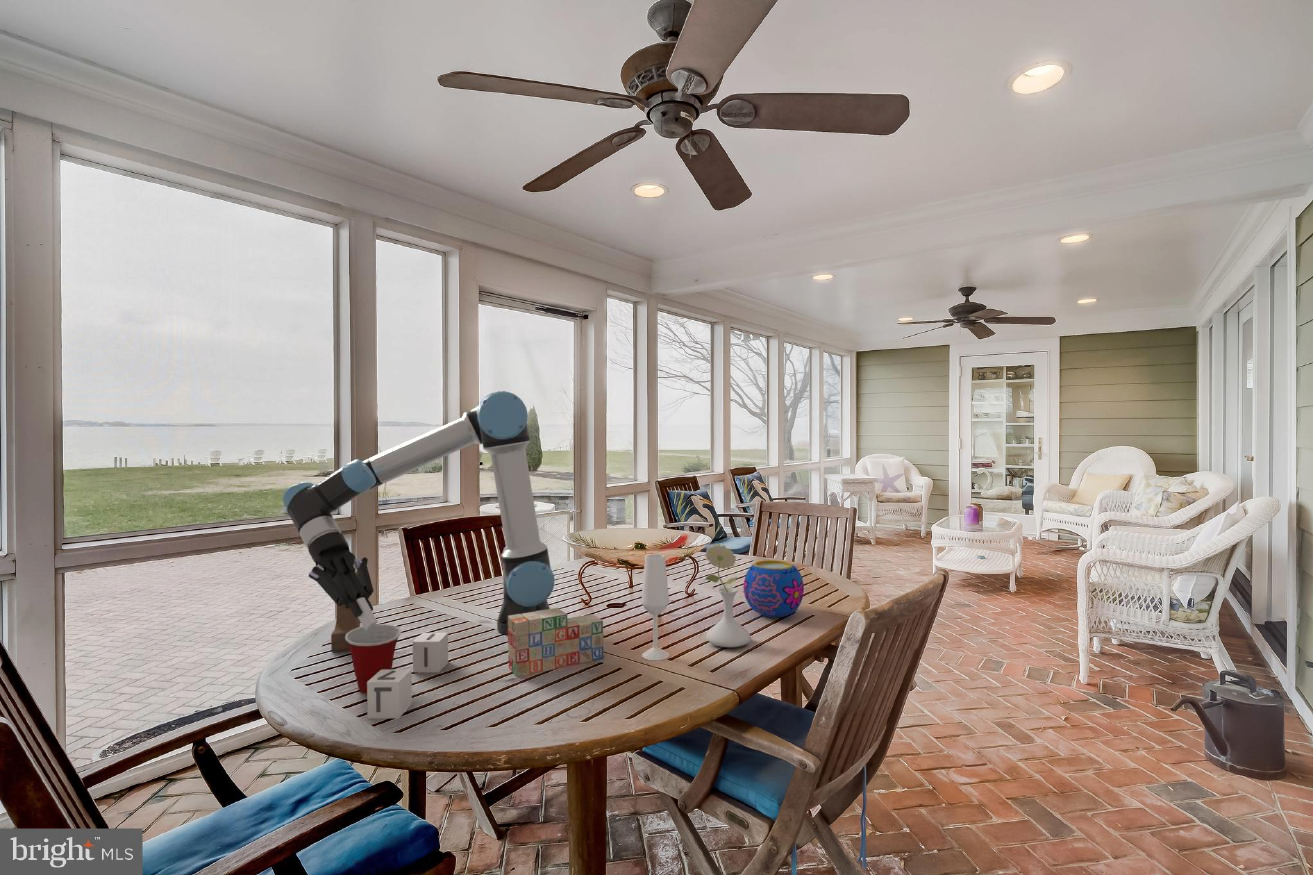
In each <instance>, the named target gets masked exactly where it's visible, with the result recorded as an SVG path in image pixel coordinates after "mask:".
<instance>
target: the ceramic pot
mask: <svg viewBox="0 0 1313 875" xmlns="http://www.w3.org/2000/svg"><path fill="white" fill-rule="evenodd" d="M742 589H743V594H744V598H745V600H746V602H747V604H748V605H749V607H750V608H751V609H752V610H753V611H754V612H756V613H757V614H760V615H762V616H764V617H768V618H781V617H782V618H783V617H787V616H789V615H791V614H793V613H794V612H797V610H798V609H799V607H800V605H801V604H802V601H803V598H804V592H805V584H804V579H803V576H802V573H800V571H799V569H798V567H796V566H795V565H794V564H793V563H791V562H789V561H783V560H777V559H775V560H772V559H771V560H760V561H756V562H754V563H753V564H751V565H750V566H749V567H748V569H747V571H746V573H745V576H744V581H743V587H742Z"/></svg>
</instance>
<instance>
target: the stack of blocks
mask: <svg viewBox="0 0 1313 875" xmlns="http://www.w3.org/2000/svg"><path fill="white" fill-rule="evenodd" d="M507 647H508V650H507V652H508V655H507V656H508V658H507V659H508V660H507V661H508V669H509V670H510V671H511V672H512V674H513V675H514V676H515V677H522V676H526V675H527V676H528V675H532V674H536V673H537V674H538V673H541V672H542V673H543V672H546V671H547V672H548V671H552V670H557V669H560V668H565V667H569V666H574V665H578V664H585V663H588V662H593V661H594V662H595V661H598V660H603V659H604V621H603V619H601V618H599V617H597V616H596V615H595V614H587V615H579V616H572V617H569V618H568V613H566V612H565V611H564V610H562V609H560V607H553V608H550V609H547V610H540V611H535V612H529V613H523V614H516V615H510V616H508V635H507Z"/></svg>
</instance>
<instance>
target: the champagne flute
mask: <svg viewBox="0 0 1313 875" xmlns="http://www.w3.org/2000/svg"><path fill="white" fill-rule="evenodd" d="M666 565H667V564H666V556H665V554H659V553H655V554H654V553H652V554H650V553H649V554H647V555H645V556H644V567H643V579H642V590H641V591H642V592H641V605H642V606H643V608H644V609H645V610H646V611H647V612H648V613H649V614H650V615H652V647H651V648H649V649H648V650H646V651H645V652H642V655H641V657H642V658H643V659H645V660H649V661H662V660H666V659H668V658H669V657H670V653H669V652H668V651H665V650H664V649H662V648H661V647H659V615H661V614H662V613H663V612H664V611H665V610H666V609H667V608H668V605H669V604H670V595H669V587H668V576H667V566H666Z"/></svg>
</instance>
